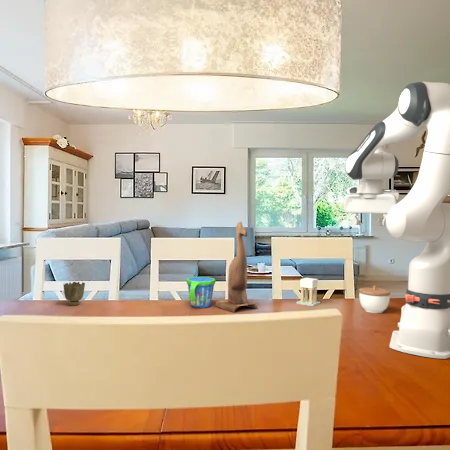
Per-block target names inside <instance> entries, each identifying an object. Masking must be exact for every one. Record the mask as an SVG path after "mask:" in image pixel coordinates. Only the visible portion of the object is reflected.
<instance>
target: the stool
mask: <svg viewBox="0 0 450 450" xmlns="http://www.w3.org/2000/svg"><path fill="white" fill-rule="evenodd" d="M299 284H300V286H299V287H300V301H301V302H304V299H305V301H308V300H309V304H313V302H317V301H318V299H317V297H318V296H317V294H318V293H317V292H318V284H319V279H318V278H312V277H304V278H300V283H299Z"/></svg>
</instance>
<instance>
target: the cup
mask: <svg viewBox="0 0 450 450" xmlns="http://www.w3.org/2000/svg"><path fill="white" fill-rule="evenodd" d="M85 286H86V282H84V281H82V283H80V281H77V282H76V281H73V282H71V281H70V282H64V284H63V292H64V293H63V294H64V297H65V299H66V300H67V301H68V305H69V306H71V307H72V306H73V307H74V306H78V305H79V304H80V301H81V300H82V299H83V297H84V293H85Z"/></svg>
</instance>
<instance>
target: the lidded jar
mask: <svg viewBox="0 0 450 450" xmlns="http://www.w3.org/2000/svg"><path fill="white" fill-rule="evenodd" d="M358 292H359V294H358V295H359V296H358V299H359V303H360V306H361V307H362V308H363V309H364V311H365V312H367V313H370V314H383V312H384V311H385V310H386V309H387V308H388V307H389V304H390V299H391V298H390V297H391V290H388V289H385V288H381V287H377V285H373V286H372V287H361V288H359V289H358Z"/></svg>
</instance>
